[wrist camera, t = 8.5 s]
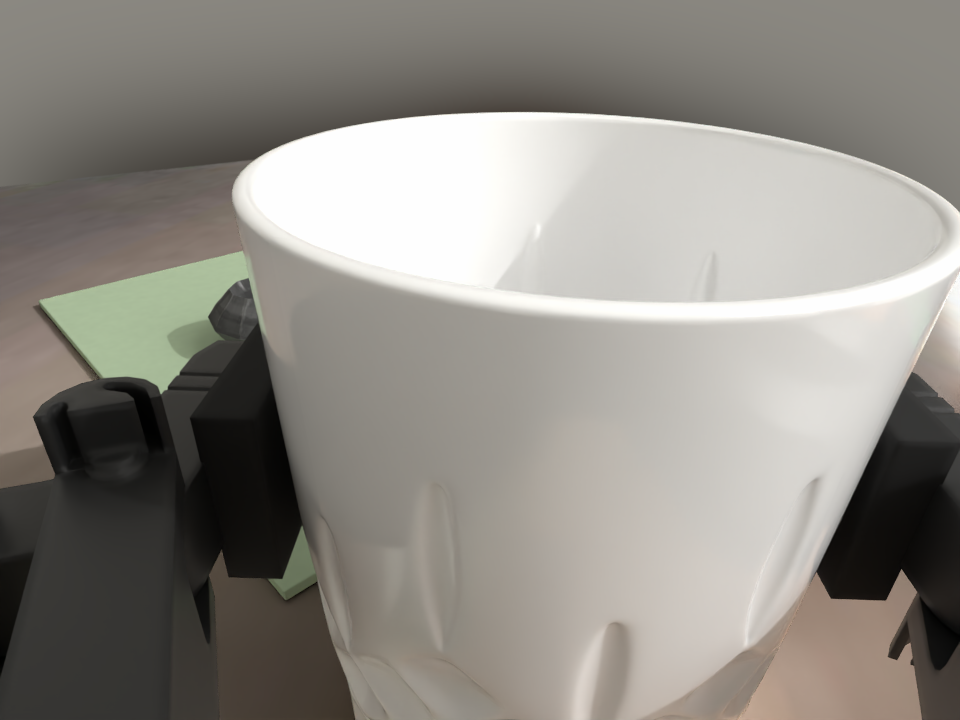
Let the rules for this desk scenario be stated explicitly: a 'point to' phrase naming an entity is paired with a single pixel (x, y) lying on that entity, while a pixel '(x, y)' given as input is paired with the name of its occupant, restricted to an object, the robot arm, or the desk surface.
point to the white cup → (578, 396)
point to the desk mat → (160, 341)
